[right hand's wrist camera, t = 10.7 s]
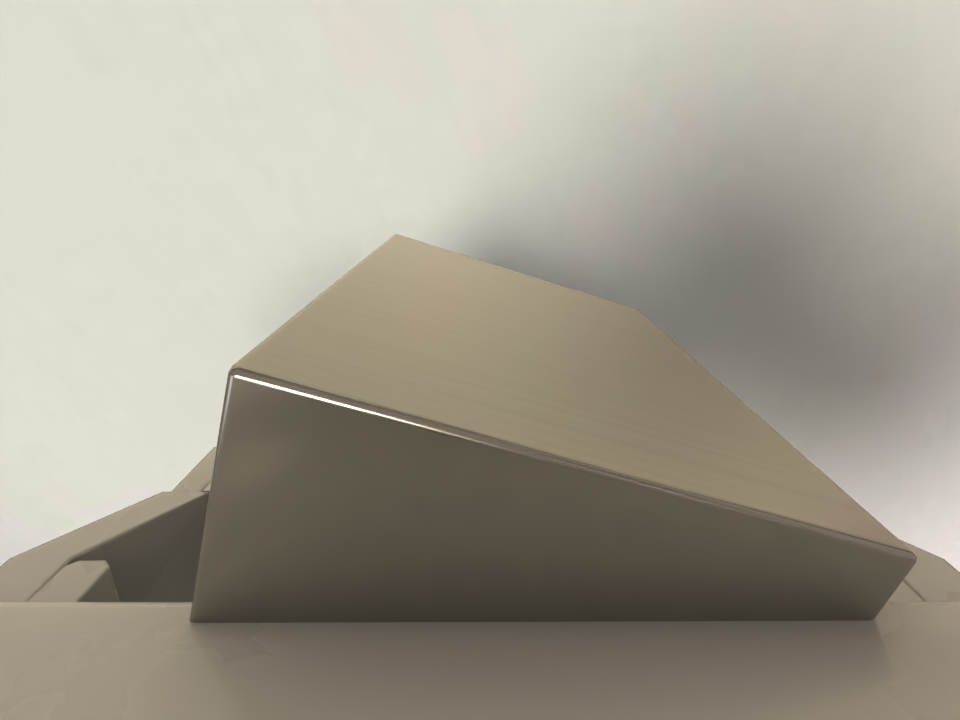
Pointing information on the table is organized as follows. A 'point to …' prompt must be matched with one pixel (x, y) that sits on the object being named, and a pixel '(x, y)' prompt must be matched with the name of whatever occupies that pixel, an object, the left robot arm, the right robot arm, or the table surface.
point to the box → (511, 469)
